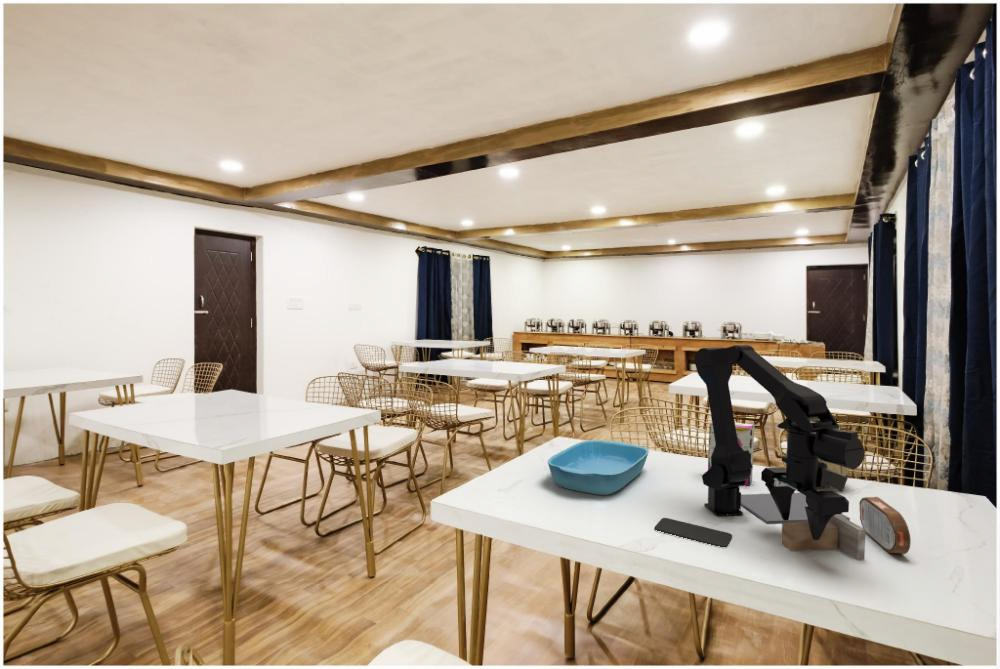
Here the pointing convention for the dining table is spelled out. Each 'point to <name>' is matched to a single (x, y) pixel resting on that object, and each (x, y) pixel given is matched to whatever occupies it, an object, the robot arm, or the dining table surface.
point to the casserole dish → (597, 466)
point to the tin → (884, 525)
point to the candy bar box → (744, 439)
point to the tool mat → (769, 512)
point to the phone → (694, 532)
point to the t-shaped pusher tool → (826, 537)
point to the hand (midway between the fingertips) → (800, 529)
